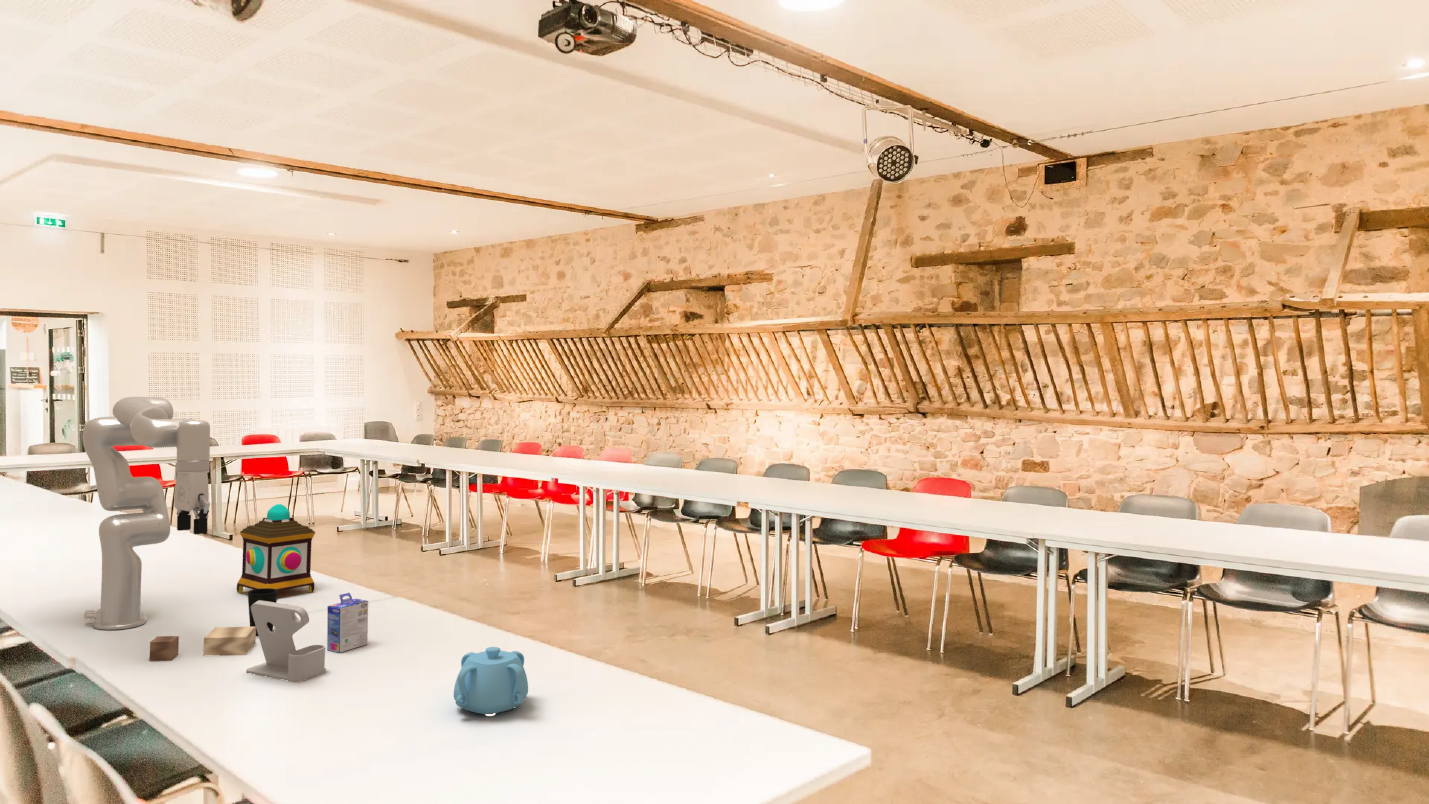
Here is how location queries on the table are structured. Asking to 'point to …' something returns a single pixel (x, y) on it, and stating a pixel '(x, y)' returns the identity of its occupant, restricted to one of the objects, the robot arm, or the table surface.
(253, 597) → the cup
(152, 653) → the walnut cube
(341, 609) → the ink cartridge box
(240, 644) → the oak block
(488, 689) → the decorative pot
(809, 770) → the table surface
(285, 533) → the decorative lantern
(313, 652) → the phone holder
